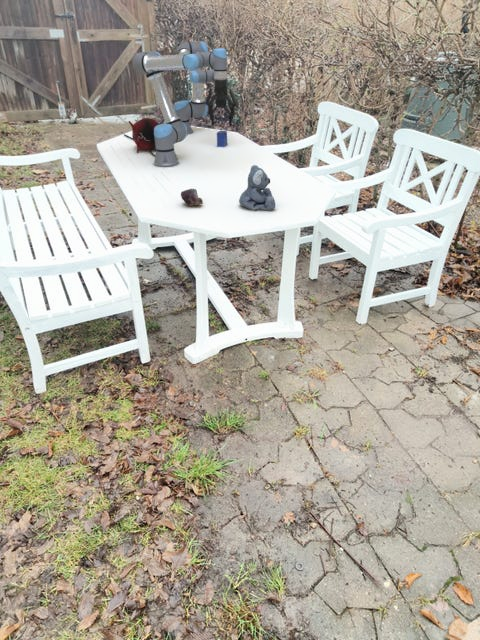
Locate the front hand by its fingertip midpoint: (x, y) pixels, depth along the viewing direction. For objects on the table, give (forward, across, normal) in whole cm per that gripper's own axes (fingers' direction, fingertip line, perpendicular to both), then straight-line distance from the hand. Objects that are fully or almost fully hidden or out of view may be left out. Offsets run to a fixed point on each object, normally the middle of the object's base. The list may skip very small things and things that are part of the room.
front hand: (221, 118), depth 276 cm
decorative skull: (+28, +65, -23) cm, 75 cm away
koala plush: (+28, -43, +65) cm, 83 cm away
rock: (+28, -10, +74) cm, 80 cm away
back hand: (+14, +18, -48) cm, 53 cm away
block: (+28, +18, -47) cm, 58 cm away
